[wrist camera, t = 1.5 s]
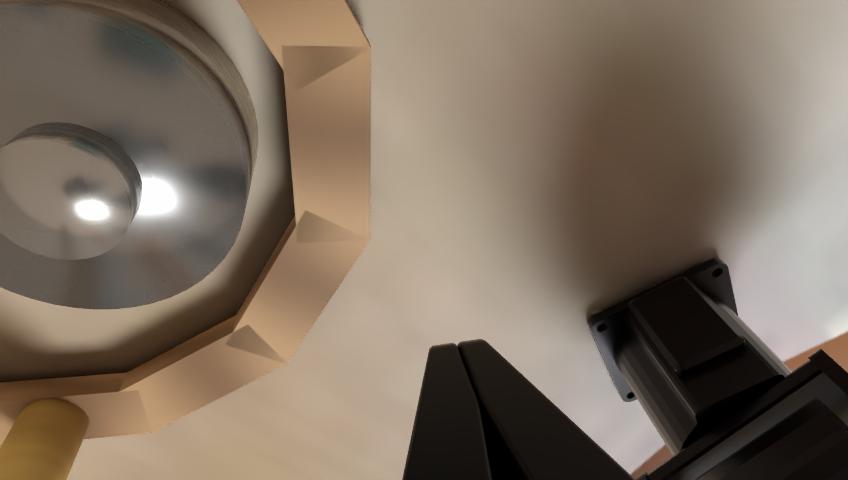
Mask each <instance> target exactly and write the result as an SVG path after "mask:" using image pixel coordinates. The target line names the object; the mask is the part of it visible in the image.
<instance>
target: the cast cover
mask: <svg viewBox="0 0 848 480" xmlns="http://www.w3.org/2000/svg"><path fill="white" fill-rule="evenodd" d="M257 147H258V127H257V120H256V115H255V110H254V106H253V103H252V100H251V97H250V94H249V92H248V90H247V87H246V85H245V83H244V81H243V79H242V77H241V75H240V74H239V72H238V70H237V69H236V67H235V66H234V64H233V63H232V61H231V60H230V58H229V57H228V56H227V55H226V53H225V52H224V51H223V50H222V48H221V47H220V46H219V45H218V44H217V43H216V42H215V41H214V40H213V39H212V38H211V37H210V36H209V35H208V34H207V33H206V32H205V31H204V30H203V29H202V28H200V27H199V26H198V25H197V24H195V23H194V22H193V21H192V20H190V19H189V18H188V17H186V16H185V15H183V14H182V13H180V12H178V11H177V10H175V9H174V8H172V7H170V6H169V5H167V4H165V3H163V2H161V1H159V0H0V287H2V288H4V289H6V290H9V291H11V292H14V293H17V294H20V295H23V296H25V297H28V298H31V299H35V300H39V301H43V302H47V303H51V304H56V305H61V306H67V307H73V308H85V309H120V308H129V307H136V306H141V305H146V304H151V303H155V302H158V301H161V300H164V299H167V298H170V297H172V296H174V295H176V294H179V293H181V292H183V291H185V290H187V289H189V288H190V287H192V286H193V285H195V284H197V283H198V282H200V281H201V280H202V279H204V278H205V277H206V276H207V275H208V274H210V273H211V272H212V271H213V270H214V269H215V268H216V267H217V266H218V265H219V264H220V263H221V261H222V260H223V259H224V258H225V257H226V255H227V253H228V252H229V250H230V249H231V247H232V246H233V244H234V242H235V240H236V237H237V235H238V233H239V231H240V228H241V224H242V220H243V217H244V213H245V208H246V203H247V199H248V194H249V189H250V185H251V180H252V175H253V171H254V166H255V161H256V157H257Z"/></svg>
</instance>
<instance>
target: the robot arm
mask: <svg viewBox="0 0 848 480" xmlns="http://www.w3.org/2000/svg"><path fill="white" fill-rule="evenodd" d="M600 324H601V325H600ZM599 325H600V326H599ZM588 326H589V329H590V331H591V333H592V335H593V338H594V340H595V342H596V344H597V346H598V349H599V351H600V353H601V355H602V357H603V360H604V362H605V364H606V366H607V369H608V371H609V373H610V375H611V377H612V380H613V382H614V384H615V386H616V388H617V391H618V393H619V395H620V396H621V398H622V400H623V401H625V402H631V401H634V400H636V399H638V401H639V402H640V404H641V405H642V407H643V409H644V410H645V412H646V413H647V415H648V417H649V418H650V420H651V421H652V423H653V424H654V426H655V428H656V429H657V431H658V432H659V434H660V436H661V437H662V439H663V440H664V442H665V444H666V445H667V447H668V448H669V450H670V452H671V453H672V455H673V456H672V457H671V458H670V459H668V460H667V461H665V462H664V463H662V464H661V465H660V466H658V467H657V468H655V469H654V470H653V471H651V472H650V473H644V474H643V475H641V476H640V477H638V478H637V479H634V478H633V477H632V476H631V475H630V474H629V473H628V472H627V471H626V470H624V469H623V468H622V467H621V466H620V465H619V464H618V463H617V462H616V461H615V460H614V459H613V458H611V457H610V456H609V455H608V454H607V453H606V452H605V451H604V450H603V449H602V448H601V447H600V446H599V445H597V444H596V443H595V442H594V441H593V440H592V439H591V438H590V437H589V436H588V435H587V434H586V433H584V432H583V431H582V430H581V429H580V428H579V427H578V426H577V425H576V424H575V423H574V422H573V421H572V420H570V419H569V418H568V417H567V416H566V415H565V414H564V413H563V412H562V411H561V410H560V409H559V408H558V407H556V406H555V405H554V404H553V403H552V402H551V401H550V400H549V399H548V398H547V397H546V396H545V395H543V394H542V393H541V392H540V391H539V390H538V389H537V388H536V387H535V386H534V385H533V384H532V383H531V382H529V381H528V380H527V379H526V378H525V377H524V376H523V375H522V374H521V373H520V372H519V371H518V370H516V369H515V368H514V367H513V366H512V365H511V364H510V363H509V362H508V361H507V360H506V359H505V358H504V357H502V356H501V355H500V354H499V353H498V352H497V351H496V350H495V349H494V348H493V347H492V346H491V345H489V344H488V343H487V342H486V341H485V340H482V339H477V340H470V341H463V342H460V343H459V344H458V345H456V344H454V343H449V344H442V345H435V346H432V347H431V348H430V349H429V353H428V358H427V363H426V368H425V373H424V378H423V382H422V387H421V392H420V397H419V402H418V407H417V411H416V416H415V421H414V426H413V431H412V436H411V441H410V445H409V450H408V455H407V460H406V465H405V470H404V474H403V479H402V480H848V373H847V372H846V371H845V370H844V369H843V368H842V367H841V366H839V365H838V364H837V363H836V362H835V361H834V360H833V359H832V358H831V357H829V356H828V355H827V354H826V353H825V352H824V351H823V350H822V349H819V350H818V351H817V352H815V353H814V354H812V355H811V356H810V357H808V358H809V359H810V360H809V361H807V362H806V363H805V364H803V365H802V366H800V367H799V368H797V369H796V370H795V371H793V372H792V371H791V370H790V369H789V368H788V367H787V366H786V365H785V364H784V363H783V362H782V361H781V360H780V359H779V358H778V357H777V356H776V355H775V354H774V353H773V352H772V351H771V350H770V349H769V348H768V347H767V345H766V344H765V343H764V342H763V341H762V340H761V339H760V338H759V337H758V336H757V335H756V334H755V333H754V332H753V331H752V330H751V329H750V328H749V327H748V326H747V325H746V324H745V323H744V322H743V321H742V320H741V319H740V318H739V317H738V313H737V308H736V304H735V299H734V294H733V289H732V284H731V280H730V275H729V270H728V267H727V265H726V264H725V263H724V262H723V261H722V260H720V259H718V258H714V259H711V260H709V261H707V262H704V263H702V264H700V265H698V266H696V267H694V268H692V269H690V270H688V271H686V272H684V273H682V274H680V275H677V276H675V277H673V278H671V279H669V280H667V281H665V282H663V283H661V284H659V285H657V286H655V287H653V288H650V289H648V290H646V291H644V292H642V293H640V294H638V295H636V296H634V297H632V298H630V299H628V300H626V301H623V302H621V303H619V304H617V305H615V306H613V307H611V308H609V309H607V310H605V311H603V312H601V313H599V314H596V315H595V316H593V317H592V318H591V319H590V320H589V323H588Z"/></svg>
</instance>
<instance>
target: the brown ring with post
mask: <svg viewBox="0 0 848 480" xmlns="http://www.w3.org/2000/svg"><path fill="white" fill-rule="evenodd" d="M237 1H238V3H239V4H240V6H241V7H242V9H243V10H244V12H245V13H246V15H247V16H248V18H249V19H250V21H251V22H252V24H253V25H254V27H255V28H256V30H257V31H258V33H259V34H260V36H261V37H262V39H263V40H264V42H265V43H266V45H267V46H268V48H269V49H270V51H271V52H272V54H273V55H274V57H275V58H276V60H277V61H278V63H279V64H280V66H281V67H282V69H283V71H284V83H285V95H286V108H287V120H288V132H289V145H290V157H291V170H292V182H293V194H294V207H295V215H294V217H293V219H292V221H291V222H290V224H289V226H288V227H287V229H286V231H285V233H284V234H283V236H282V238H281V239H280V241H279V243H278V244H277V246H276V248H275V250H274V251H273V253H272V255H271V256H270V258H269V260H268V261H267V263H266V265H265V267H264V268H263V270H262V272H261V273H260V275H259V277H258V279H257V280H256V282H255V284H254V285H253V287H252V289H251V290H250V292H249V294H248V296H247V297H246V299H245V301H244V302H243V304H242V306H241V308H240V309H239V311H238V313H237V314H236V315H235V316H233V317H231V318H229V319H228V320H226V321H224V322H222V323H220V324H218V325H216V326H214V327H212V328H210V329H209V330H207V331H205V332H203V333H201V334H199V335H197V336H195V337H193V338H191V339H190V340H188V341H186V342H184V343H182V344H180V345H178V346H176V347H174V348H172V349H171V350H169V351H167V352H165V353H163V354H161V355H159V356H157V357H155V358H154V359H152V360H150V361H148V362H146V363H144V364H142V365H140V366H138V367H136V368H135V369H133V370H131V371H129V372H127V373H117V374H104V375H91V376H78V377H65V378H52V379H39V380H26V381H14V382H1V383H0V480H66V479H67V477H68V474H69V472H70V470H71V467H72V465H73V462H74V460H75V458H76V455H77V453H78V450H79V448H80V446H81V443H82V441H83V439H90V438H100V437H111V436H121V435H132V434H142V433H152V432H154V431H155V430H157V429H159V428H161V427H163V426H165V425H167V424H169V423H171V422H173V421H175V420H177V419H179V418H181V417H183V416H185V415H187V414H189V413H191V412H193V411H195V410H197V409H199V408H201V407H203V406H205V405H207V404H209V403H211V402H213V401H215V400H217V399H219V398H221V397H223V396H224V395H226V394H228V393H230V392H232V391H234V390H236V389H238V388H240V387H242V386H244V385H246V384H248V383H250V382H252V381H254V380H256V379H258V378H260V377H262V376H264V375H266V374H268V373H270V372H272V371H274V370H276V369H278V368H280V367H282V366H284V365H286V364H287V363H288V362H289V360H290V359H291V357H292V356H293V354H294V353H295V351H296V350H297V348H298V347H299V345H300V344H301V342H302V341H303V339H304V338H305V336H306V335H307V333H308V332H309V330H310V329H311V327H312V326H313V324H314V323H315V321H316V320H317V318H318V317H319V315H320V314H321V312H322V311H323V309H324V308H325V306H326V305H327V303H328V302H329V300H330V299H331V297H332V296H333V294H334V293H335V291H336V290H337V288H338V287H339V285H340V284H341V282H342V281H343V279H344V278H345V276H346V275H347V273H348V272H349V270H350V269H351V267H352V266H353V264H354V263H355V261H356V260H357V258H358V257H359V255H360V254H361V252H362V251H363V249H364V248H365V246H366V245H367V243H368V242H369V240H370V95H371V46H370V44H369V41H368V39H367V37H366V35H365V34H364V32H363V30H362V28H361V26H360V24H359V23H358V21H357V19H356V17H355V15H354V14H353V12H352V10H351V8H350V6H349V5H348V3H347V1H346V0H237Z"/></svg>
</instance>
